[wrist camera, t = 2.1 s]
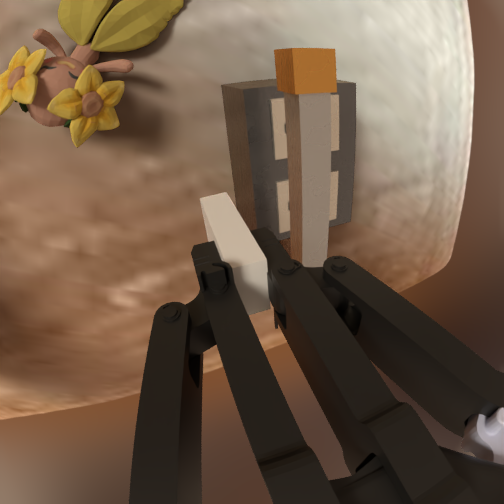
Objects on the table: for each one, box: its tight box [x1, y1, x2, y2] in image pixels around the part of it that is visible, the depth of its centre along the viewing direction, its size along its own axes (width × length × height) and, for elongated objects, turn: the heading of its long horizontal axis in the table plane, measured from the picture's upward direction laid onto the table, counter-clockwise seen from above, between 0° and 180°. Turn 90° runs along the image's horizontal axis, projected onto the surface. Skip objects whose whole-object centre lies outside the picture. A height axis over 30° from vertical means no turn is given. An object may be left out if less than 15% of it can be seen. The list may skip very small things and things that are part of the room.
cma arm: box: [274, 48, 337, 267], centre depth 21 cm, size 4×23×2 cm, turn 5°
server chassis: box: [221, 79, 356, 241], centre depth 28 cm, size 10×14×8 cm
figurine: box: [0, 0, 184, 148], centre depth 17 cm, size 12×9×15 cm
